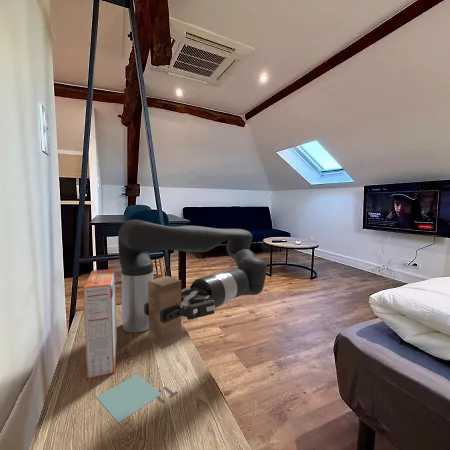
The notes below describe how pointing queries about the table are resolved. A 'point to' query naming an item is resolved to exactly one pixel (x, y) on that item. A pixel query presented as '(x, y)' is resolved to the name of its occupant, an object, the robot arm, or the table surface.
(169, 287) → the walnut block
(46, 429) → the table surface
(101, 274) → the cracker box
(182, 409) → the table surface
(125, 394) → the felt mat
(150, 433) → the table surface
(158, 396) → the code marks
